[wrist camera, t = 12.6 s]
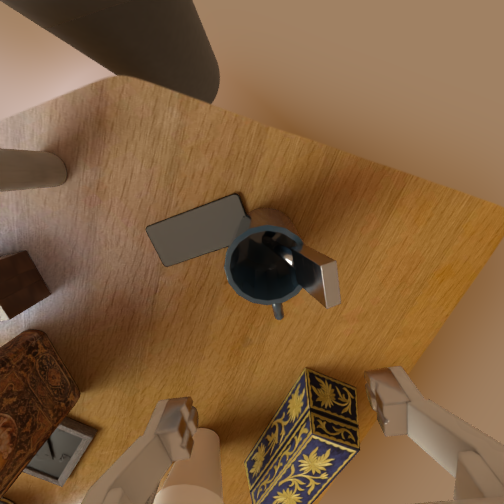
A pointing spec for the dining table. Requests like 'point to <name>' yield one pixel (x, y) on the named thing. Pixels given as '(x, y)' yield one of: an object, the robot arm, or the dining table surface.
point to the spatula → (311, 271)
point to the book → (30, 400)
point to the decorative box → (305, 442)
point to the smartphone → (197, 230)
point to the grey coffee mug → (262, 259)
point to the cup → (195, 474)
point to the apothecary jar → (5, 501)
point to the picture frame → (61, 452)
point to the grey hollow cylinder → (30, 170)
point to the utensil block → (19, 285)
